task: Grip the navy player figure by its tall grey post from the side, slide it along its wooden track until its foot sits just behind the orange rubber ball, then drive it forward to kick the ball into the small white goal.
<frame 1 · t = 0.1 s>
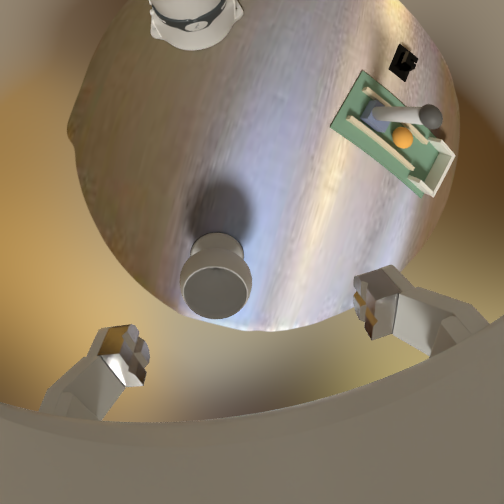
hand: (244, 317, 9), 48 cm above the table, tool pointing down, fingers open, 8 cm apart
pitch: (396, 137, 52), on the table
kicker: (401, 116, 39), point 12 cm above the table, slide at 0.0 cm
chalice: (217, 256, 62), on the table
ball: (402, 137, 49), point 3 cm above the table, touching pitch
goal: (423, 162, 55), resting on pitch
black boxy piece: (400, 62, 44), on the table
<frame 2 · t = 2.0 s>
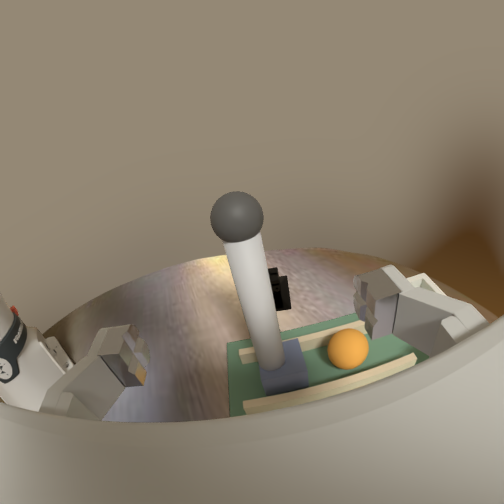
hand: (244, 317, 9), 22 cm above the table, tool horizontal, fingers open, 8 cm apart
pitch: (350, 362, 31), on the table
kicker: (267, 308, 25), point 12 cm above the table, slide at 0.0 cm
ball: (348, 349, 29), point 3 cm above the table, touching pitch
goal: (418, 337, 30), resting on pitch
black boxy piece: (273, 296, 47), on the table
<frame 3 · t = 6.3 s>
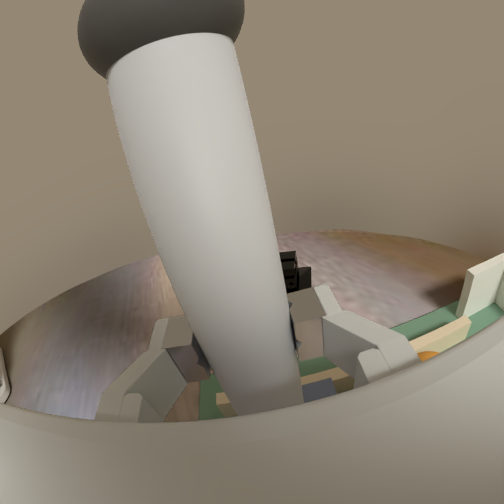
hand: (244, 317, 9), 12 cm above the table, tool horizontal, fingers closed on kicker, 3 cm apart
pitch: (417, 408, 14), on the table
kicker: (267, 324, 8), point 12 cm above the table, slide at 0.0 cm, touching gripper
black boxy piece: (287, 296, 30), on the table
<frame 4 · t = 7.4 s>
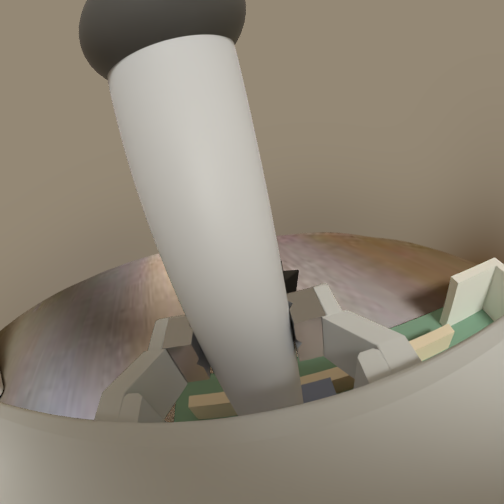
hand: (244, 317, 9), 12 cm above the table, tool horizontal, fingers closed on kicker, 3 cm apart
pitch: (392, 419, 14), on the table
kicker: (267, 324, 8), point 12 cm above the table, slide at 2.0 cm, touching gripper
goal: (493, 362, 14), resting on pitch
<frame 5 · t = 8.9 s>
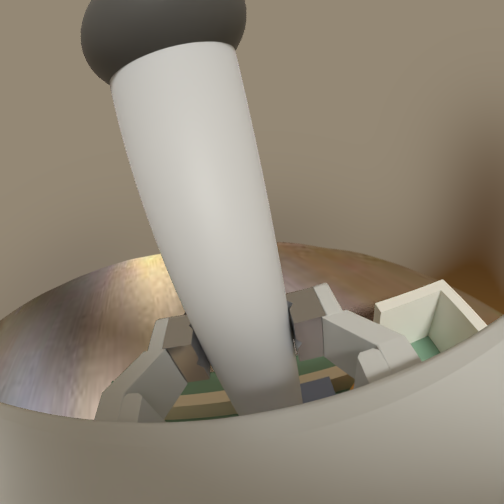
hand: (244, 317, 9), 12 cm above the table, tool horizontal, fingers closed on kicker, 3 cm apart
pitch: (289, 449, 14), on the table
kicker: (267, 325, 9), point 12 cm above the table, slide at 9.3 cm, touching gripper
goal: (428, 400, 14), resting on pitch
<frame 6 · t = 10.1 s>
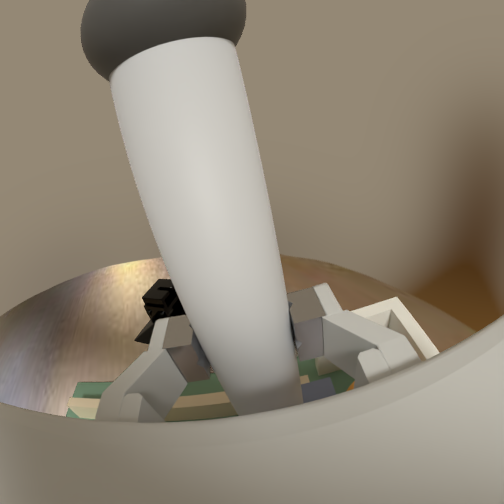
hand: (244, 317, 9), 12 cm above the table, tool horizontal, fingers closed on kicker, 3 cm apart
pitch: (220, 460, 14), on the table
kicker: (267, 324, 9), point 12 cm above the table, slide at 14.0 cm, touching gripper
goal: (372, 426, 14), resting on pitch
black boxy piece: (175, 320, 30), on the table
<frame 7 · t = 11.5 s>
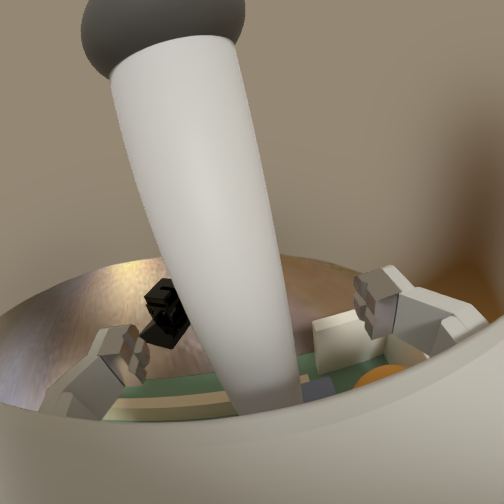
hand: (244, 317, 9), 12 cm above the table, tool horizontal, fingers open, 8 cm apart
pitch: (220, 459, 14), on the table
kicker: (267, 322, 9), point 12 cm above the table, slide at 14.0 cm
ball: (387, 404, 13), point 3 cm above the table, tilted 97°, touching goal, pitch
goal: (372, 426, 14), resting on pitch
black boxy piece: (177, 320, 30), on the table
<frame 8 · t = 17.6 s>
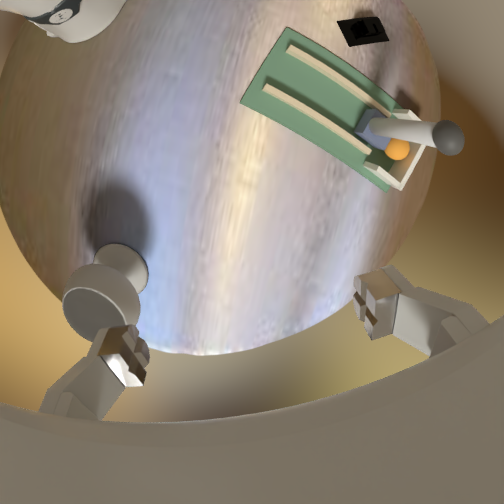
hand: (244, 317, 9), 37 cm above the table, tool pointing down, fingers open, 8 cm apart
pitch: (343, 110, 39), on the table
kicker: (407, 132, 30), point 12 cm above the table, slide at 14.0 cm
chalice: (120, 270, 49), on the table
ball: (396, 146, 40), point 3 cm above the table, tilted 106°, touching pitch
goal: (387, 143, 42), resting on pitch
black boxy piece: (362, 31, 33), on the table
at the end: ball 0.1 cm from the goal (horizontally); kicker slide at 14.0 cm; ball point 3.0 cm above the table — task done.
